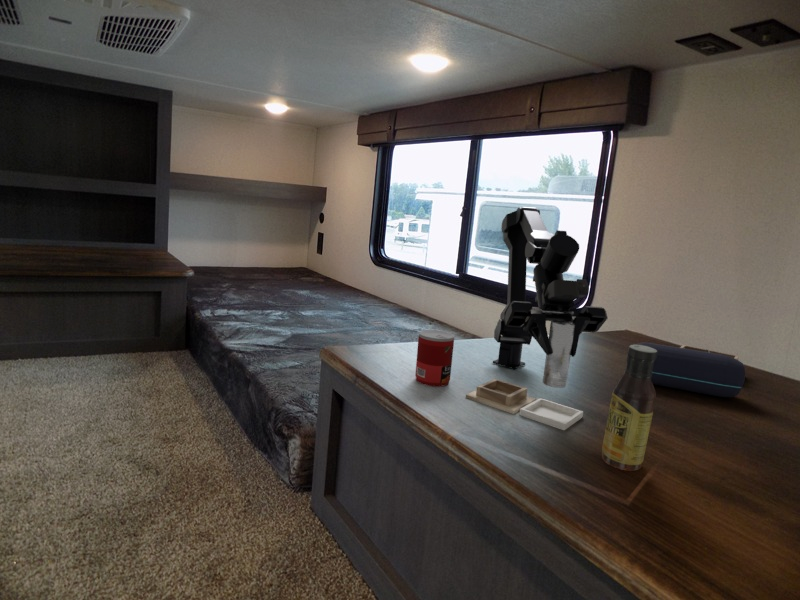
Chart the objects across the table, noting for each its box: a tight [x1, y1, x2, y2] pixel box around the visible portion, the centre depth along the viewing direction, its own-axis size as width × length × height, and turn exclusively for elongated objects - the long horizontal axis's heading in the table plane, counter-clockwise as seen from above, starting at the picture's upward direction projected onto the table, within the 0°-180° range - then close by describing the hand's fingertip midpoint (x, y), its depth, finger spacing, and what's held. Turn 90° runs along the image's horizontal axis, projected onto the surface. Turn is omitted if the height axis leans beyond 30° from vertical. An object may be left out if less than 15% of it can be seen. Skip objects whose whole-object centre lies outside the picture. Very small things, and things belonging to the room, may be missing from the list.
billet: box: [542, 320, 575, 389], centre depth 97 cm, size 4×4×12 cm
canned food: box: [415, 329, 455, 387], centre depth 115 cm, size 8×8×11 cm
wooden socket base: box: [465, 378, 537, 415], centre depth 106 cm, size 10×11×3 cm
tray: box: [518, 398, 584, 431], centre depth 99 cm, size 9×9×2 cm
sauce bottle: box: [601, 344, 657, 472], centre depth 80 cm, size 7×6×20 cm
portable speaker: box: [626, 342, 746, 398], centre depth 124 cm, size 25×10×10 cm, turn 66°
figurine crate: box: [679, 344, 740, 360], centre depth 141 cm, size 11×14×5 cm
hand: (561, 354), depth 95 cm, fingers closed on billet, 4 cm apart
